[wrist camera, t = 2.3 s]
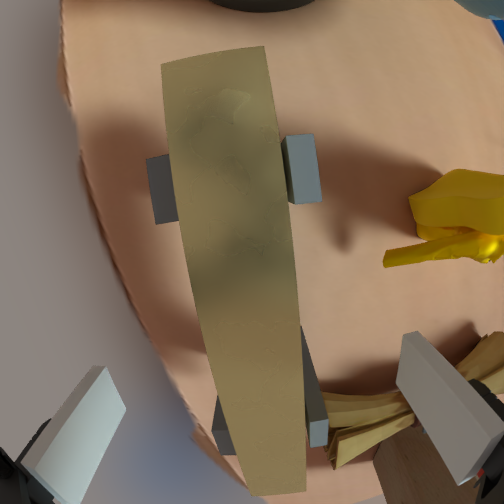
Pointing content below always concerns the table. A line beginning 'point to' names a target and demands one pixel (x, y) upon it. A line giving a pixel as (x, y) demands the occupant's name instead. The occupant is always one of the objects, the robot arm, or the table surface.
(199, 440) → the table surface
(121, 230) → the table surface
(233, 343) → the rail
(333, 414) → the scroll
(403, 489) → the wooden block
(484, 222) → the figure statuette
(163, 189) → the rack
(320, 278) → the table surface
